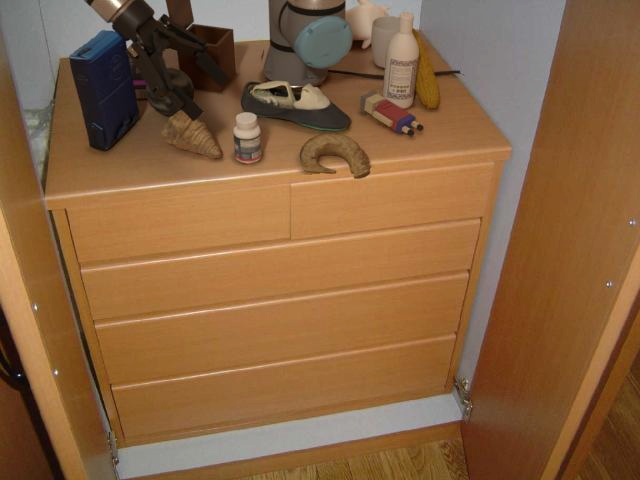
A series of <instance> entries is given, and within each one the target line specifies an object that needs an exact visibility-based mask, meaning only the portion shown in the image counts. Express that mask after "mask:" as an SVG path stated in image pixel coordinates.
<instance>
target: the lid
mask: <svg viewBox="0 0 640 480" xmlns="http://www.w3.org/2000/svg"><path fill="white" fill-rule="evenodd" d="M191 2H192V1H191V0H165V4H166V9H167V13H168V17H169V18H170V19H171V20H173V21H174V22H175V23H177V24H179V25H180V26H182V27H183V28H185V29H188V28H189V27H190V26H191V25H192V24H194V22H195V18H194V13H193V8H192V4H191Z"/></svg>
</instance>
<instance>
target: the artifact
mask: <svg viewBox="0 0 640 480" xmlns="http://www.w3.org/2000/svg"><path fill="white" fill-rule="evenodd" d="M323 156H335V157H338V158H341V159H342V160H344V161H345V162H346V163H347V165H348V167H349V172H350V174H351V175H353V179H354V180H361V179H364V178H366V177H368V176H369V175H370V174H371V167H372V166H371V164H370V159H369V156H368V154H367V153H366V151H365V150H364V149H362V148H361V146H360V144H359V143H358V142H357V141H356V140H354V139H352V138H351V137H349V136H348V135H346V134H344V133H343V134H342V133H336V132H335V133H334V132H326V133H321V134H318V135H315V136H313V137H311V138H309V139H308V140H307V141H306V142H305V143H304V144H303V145H302V147H301V148H300V151H299V160H300V163H301V165H302V166H303V170H304V171H305V172H307V173H317V174H327V175H336V174H337V170H335V169H333V168H329V167H326V166H323V165H322V164H321V163H319V158H320V157H323Z"/></svg>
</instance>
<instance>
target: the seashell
mask: <svg viewBox="0 0 640 480" xmlns="http://www.w3.org/2000/svg"><path fill="white" fill-rule="evenodd" d="M199 117H200V116H199ZM199 117H198V118H197V119H196V120H195V121H193V120H192V119H191V118H190V117H188V116H187V115H186V114H185V113H184V112H183V111H182V110H180V111H178V112H177V113H176V114H174V115H173V116H168V120H167V122H166V123H165V124H164V125H163V127H162V129H161V133H160V135H161V137H162V139H163V140H164V142H166V143H168V144H170V145H171V146H174V147H175V148H176V149H178V150H179V149H180V150H183V151H188V152H191V153H194V154H199V155H204V156H205V157H209V158H211V159H219V158H222V152H221V150H220V148H219V146H217V142H216V141H215V140H214V137H213V136H212V133H211V132H210V131H209V130H208V127H207V124H206V123H204V122H201V120H200V118H199Z"/></svg>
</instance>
